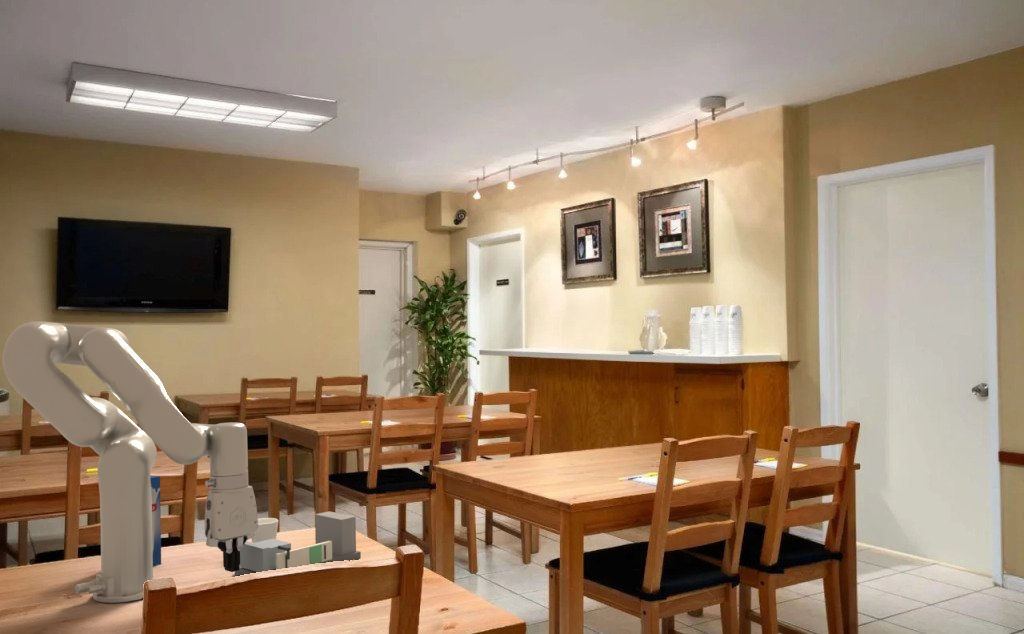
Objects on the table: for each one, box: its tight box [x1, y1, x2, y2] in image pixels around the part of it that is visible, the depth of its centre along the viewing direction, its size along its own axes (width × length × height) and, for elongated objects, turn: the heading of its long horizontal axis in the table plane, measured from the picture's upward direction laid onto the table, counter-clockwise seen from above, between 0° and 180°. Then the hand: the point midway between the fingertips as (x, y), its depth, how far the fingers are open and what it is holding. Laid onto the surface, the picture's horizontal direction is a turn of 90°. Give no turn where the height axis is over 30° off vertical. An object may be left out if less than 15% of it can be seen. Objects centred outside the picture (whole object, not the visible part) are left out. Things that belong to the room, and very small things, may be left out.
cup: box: [251, 517, 279, 543], centre depth 198 cm, size 7×10×8 cm
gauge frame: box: [234, 510, 362, 576], centre depth 188 cm, size 25×12×10 cm, turn 139°
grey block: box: [239, 538, 292, 572], centre depth 181 cm, size 8×12×5 cm, turn 49°
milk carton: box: [150, 474, 162, 567], centre depth 190 cm, size 10×6×20 cm, turn 146°
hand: (232, 570), depth 176 cm, fingers closed
